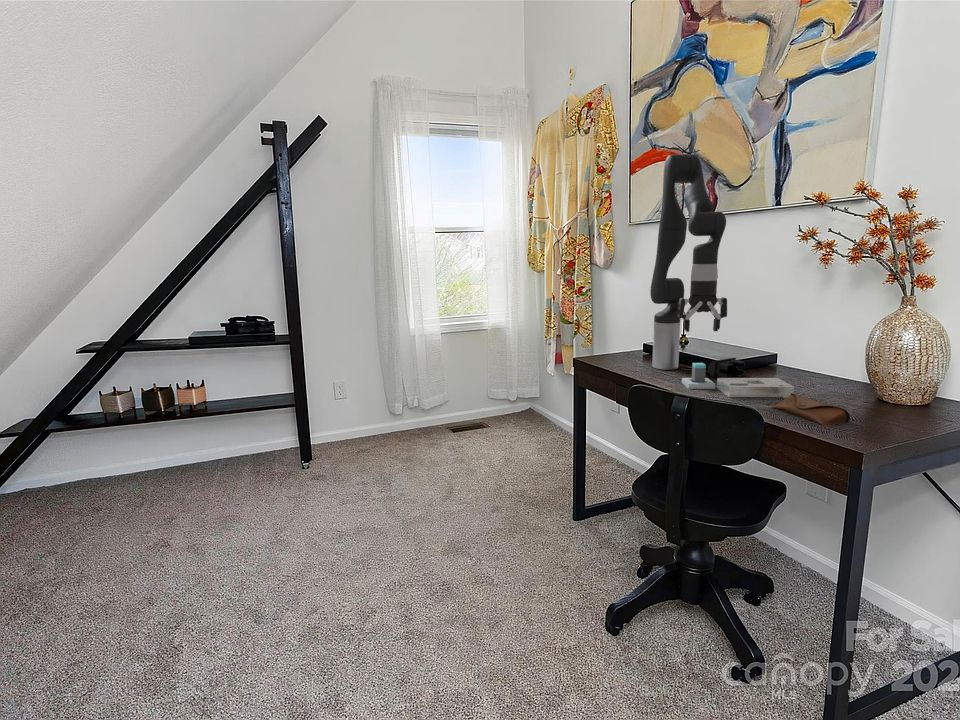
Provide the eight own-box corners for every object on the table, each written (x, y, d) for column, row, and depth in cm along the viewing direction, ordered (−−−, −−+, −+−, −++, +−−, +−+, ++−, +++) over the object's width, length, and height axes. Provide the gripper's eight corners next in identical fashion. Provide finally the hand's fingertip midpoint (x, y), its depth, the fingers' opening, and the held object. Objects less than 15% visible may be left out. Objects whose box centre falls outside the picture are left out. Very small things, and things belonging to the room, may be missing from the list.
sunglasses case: (767, 406, 152) (778, 385, 152) (782, 416, 154) (793, 395, 154) (825, 426, 135) (838, 402, 135) (841, 436, 138) (854, 413, 137)
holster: (681, 385, 177) (681, 377, 177) (706, 385, 177) (707, 377, 176) (688, 391, 170) (688, 383, 169) (714, 391, 169) (715, 383, 168)
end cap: (727, 375, 190) (728, 356, 188) (744, 379, 184) (746, 359, 182) (706, 378, 185) (708, 359, 184) (724, 383, 179) (725, 363, 178)
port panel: (728, 400, 160) (729, 385, 159) (716, 390, 170) (717, 377, 169) (793, 400, 158) (794, 385, 157) (776, 390, 168) (777, 376, 168)
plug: (691, 384, 175) (692, 362, 173) (701, 384, 174) (702, 362, 173) (694, 386, 172) (695, 365, 170) (704, 386, 171) (705, 365, 170)
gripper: (723, 277, 169) (720, 329, 172) (676, 278, 171) (674, 329, 174) (732, 279, 162) (729, 332, 165) (683, 280, 163) (680, 333, 166)
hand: (701, 331), depth 169 cm, fingers open, 8 cm apart
